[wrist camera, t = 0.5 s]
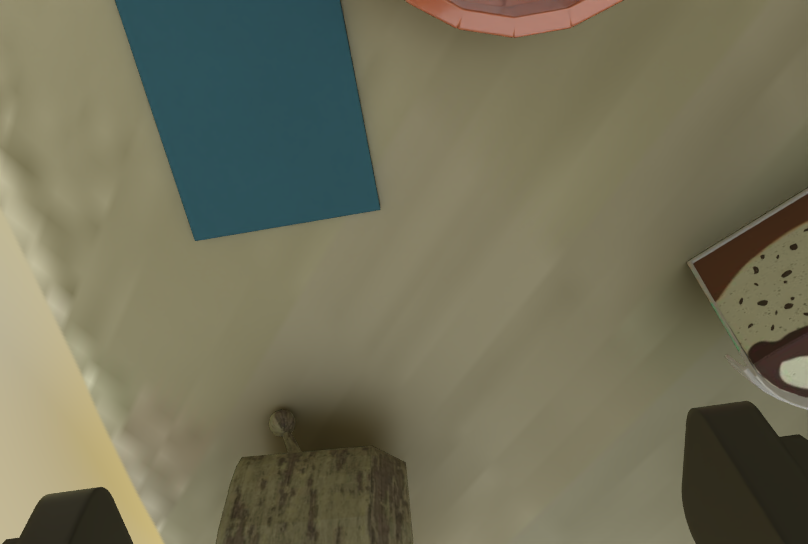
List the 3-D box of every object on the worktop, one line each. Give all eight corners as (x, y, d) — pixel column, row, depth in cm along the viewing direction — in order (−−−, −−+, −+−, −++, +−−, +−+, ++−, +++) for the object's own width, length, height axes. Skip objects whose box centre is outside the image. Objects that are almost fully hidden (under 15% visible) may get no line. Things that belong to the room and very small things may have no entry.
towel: (69, -145, 30) (66, -145, 30) (304, -189, 30) (303, -190, 30) (196, 238, 39) (194, 241, 38) (380, 207, 38) (380, 209, 38)
